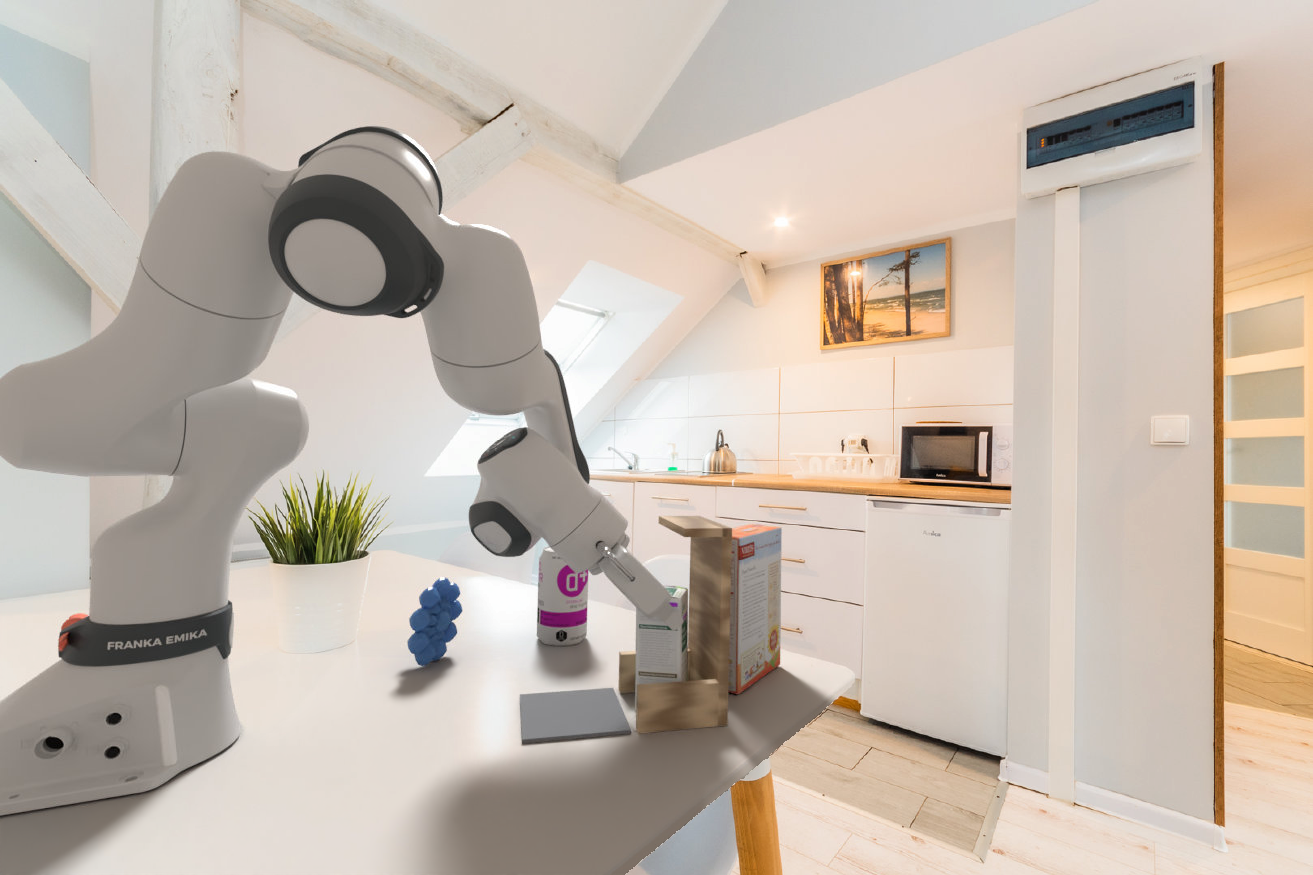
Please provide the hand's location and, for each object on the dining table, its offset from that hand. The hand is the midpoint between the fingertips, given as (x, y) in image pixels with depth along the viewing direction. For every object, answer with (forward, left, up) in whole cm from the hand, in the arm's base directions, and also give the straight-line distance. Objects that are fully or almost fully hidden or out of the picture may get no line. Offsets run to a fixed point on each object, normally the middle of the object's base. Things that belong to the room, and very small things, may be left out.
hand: (668, 614), depth 75 cm
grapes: (-21, +31, -12) cm, 39 cm away
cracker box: (+15, +3, -12) cm, 20 cm away
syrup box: (-1, 0, -12) cm, 12 cm away
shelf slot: (0, 0, -11) cm, 11 cm away
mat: (-11, +4, -11) cm, 16 cm away
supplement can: (0, +30, -12) cm, 32 cm away
